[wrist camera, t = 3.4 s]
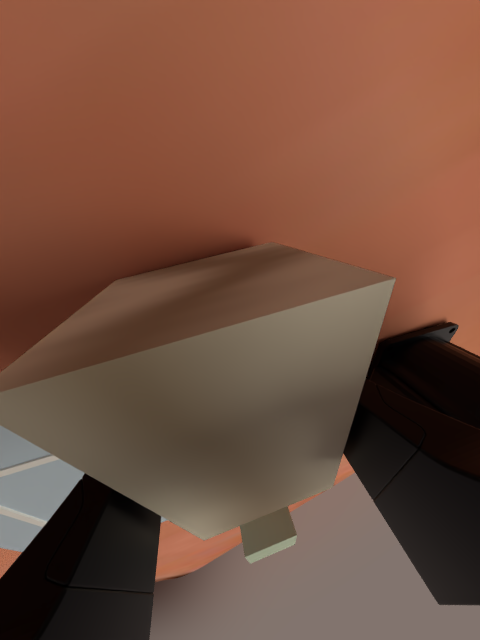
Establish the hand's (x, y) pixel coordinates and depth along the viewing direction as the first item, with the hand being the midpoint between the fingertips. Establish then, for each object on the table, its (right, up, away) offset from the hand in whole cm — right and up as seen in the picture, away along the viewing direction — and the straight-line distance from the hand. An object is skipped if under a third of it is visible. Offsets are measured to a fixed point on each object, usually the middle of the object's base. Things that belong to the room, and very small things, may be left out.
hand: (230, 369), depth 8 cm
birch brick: (0, +1, +1) cm, 1 cm away
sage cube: (+2, -18, +13) cm, 22 cm away
